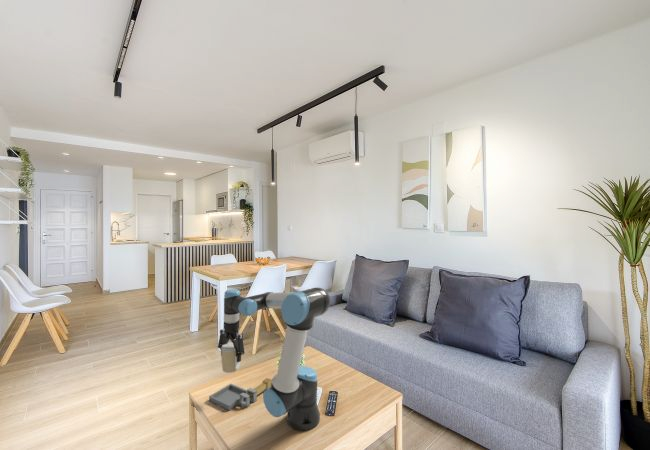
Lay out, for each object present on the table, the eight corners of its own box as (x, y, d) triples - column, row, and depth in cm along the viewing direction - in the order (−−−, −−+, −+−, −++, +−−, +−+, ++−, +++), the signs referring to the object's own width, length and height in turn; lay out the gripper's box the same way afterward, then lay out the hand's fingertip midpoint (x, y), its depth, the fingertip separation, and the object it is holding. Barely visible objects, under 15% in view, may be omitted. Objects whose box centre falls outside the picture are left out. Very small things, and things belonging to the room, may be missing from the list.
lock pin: (266, 384, 167) (267, 377, 167) (272, 386, 165) (272, 379, 165) (247, 397, 154) (247, 390, 154) (253, 400, 152) (253, 393, 152)
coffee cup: (242, 365, 158) (243, 342, 158) (235, 374, 149) (236, 350, 149) (225, 363, 159) (226, 340, 159) (217, 372, 150) (217, 348, 150)
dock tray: (258, 399, 155) (258, 389, 155) (237, 415, 143) (237, 404, 142) (230, 388, 164) (230, 378, 164) (209, 401, 152) (209, 391, 152)
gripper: (252, 323, 151) (251, 367, 152) (222, 314, 162) (221, 356, 163) (241, 327, 145) (240, 374, 146) (210, 318, 156) (209, 362, 156)
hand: (230, 365), depth 154 cm, fingers closed on coffee cup, 9 cm apart
